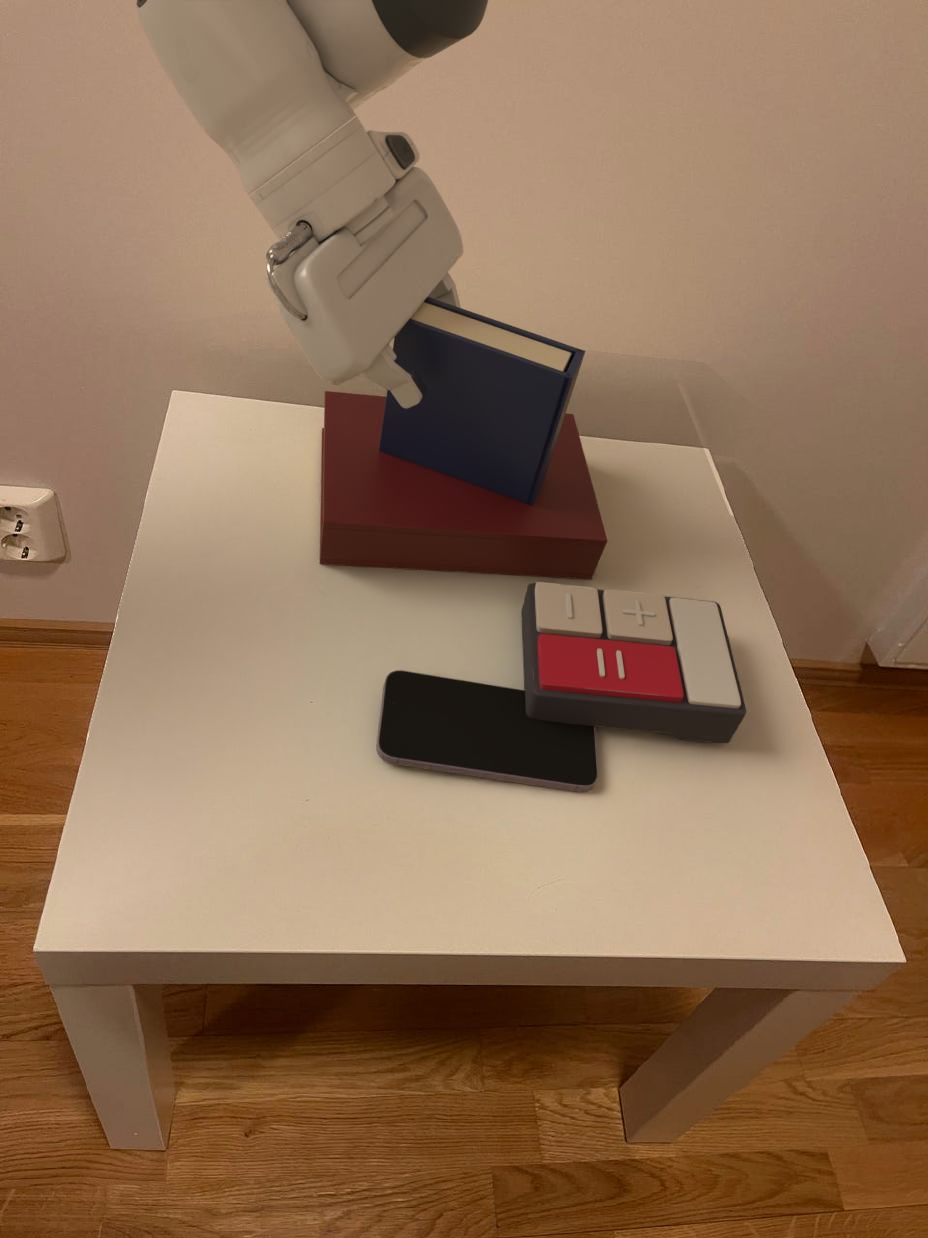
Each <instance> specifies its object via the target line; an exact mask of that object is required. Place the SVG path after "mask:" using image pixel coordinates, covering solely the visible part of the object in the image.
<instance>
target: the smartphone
mask: <svg viewBox="0 0 928 1238" xmlns="http://www.w3.org/2000/svg"><path fill="white" fill-rule="evenodd" d="M378 721H379V722H378V730H377V736H376V743H375V744H376V746H375V749H376V754H377V755H378V757H379V758H380V759H381V760H382V761H383V762H385V763H387V764H391V765H398V766H402V767H403V766H405V767H410V768H417V769H423V770H424V769H426V770H432V771H437V772H443V773H451V774H457V775H463V776H464V775H465V776H470V777H471V776H472V777H478V778H484V779H490V780H498V781H504V782H510V783H517V784H524V785H532V786H537V787H544V788H552V789H558V790H564V791H571V792H578V793H579V792H580V793H585V792H589V791H591V790H592V789H593V788H594V786H595V785H596V783H597V782H598V778H599V769H598V767H599V766H598V752H597V751H598V750H597V736H596V735H597V734H596V726H586V725H575V724H566V723H559V722H552V721H545V720H538V719H533V718H530V717H528V716H527V714H526V699H525V690H524V689H518V688H514V687H507V686H501V685H494V684H490V683H489V684H488V683H483V682H476V681H470V680H463V679H457V678H451V677H445V676H440V675H434V674H427V673H421V672H415V671H410V670H409V671H408V670H401V669H400V670H393V671H391V672H389V673H388V674H387V675H386V677H385V679H384V683H383V688H382V696H381V704H380V710H379V720H378Z"/></svg>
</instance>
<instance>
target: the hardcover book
mask: <svg viewBox="0 0 928 1238" xmlns="http://www.w3.org/2000/svg"><path fill="white" fill-rule="evenodd" d="M392 350H393V351H394V353H395V354H396V357H397V358H396V359H395V360H394V362H395V363H396V364H398V365H399V366H400V367H401V368H403V369H404V370H405V371H406V372H407V373H409V374H410V373H412V372H414V371H416V372H417V373H418V375H419V376H420V378H421V381H422V383H424V384H425V386H426V387H427V392H426V393H425V395H424V396H423V398H422V399H421V401H420V402H419V403H418V404H416V405H414V406H412V407H410V408H403V407H402V406H400V404H399V403H398V401H397V400H396V398H395V397H394V395H393V394H392V393H391V391H390V390H387V389H386V396H385V397H386V403H385V410H384V417H383V425H382V432H381V439H380V447H379V451H382V452H385V453H387V454H390V455H393V456H396V457H398V458H401V459H404V460H407V461H410V462H412V463H415V464H418V465H421V466H423V467H426V468H429V469H432V470H434V471H437V472H440V473H443V474H446V475H448V476H451V477H454V478H457V479H459V480H462V481H465V482H468V483H471V484H473V485H476V486H479V487H482V488H484V489H487V490H490V491H493V492H495V493H498V494H501V495H504V496H507V497H509V498H512V499H515V500H518V501H520V502H523V503H526V504H529V505H531V506H533V504H534V501H535V499H536V497H537V495H538V492H539V490H540V488H541V486H542V483H543V481H544V479H545V476H546V473H547V470H548V467H549V464H550V461H551V457H552V454H553V451H554V448H555V445H556V442H557V439H558V435H559V432H560V429H561V426H562V423H563V420H564V417H565V414H566V413H567V411H568V408H569V404H570V401H571V398H572V395H573V391H574V389H575V386H576V385H575V384H576V382H577V378H578V376H579V373H580V369H581V367H582V363H583V360H584V357H585V354H586V350H584V349H581V348H577V347H575V346H572V345H569V344H566V343H563V342H560V341H557V340H554V339H552V338H550V337H547V336H543V335H540V334H538V333H534V332H532V331H528V330H527V329H524V328H523V329H522V328H520V327H516V326H513V325H511V324H509V323H505V322H502V321H500V320H496V319H494V318H491V317H488V316H485V315H482V314H479V313H476V312H473V311H471V310H468V309H464V308H462V307H461V308H459V307H456V306H453V305H450V304H447V303H444V302H442V301H439V300H436V299H433V298H430V297H427V298H426V300H425V301H424V302H423V303H422V304H421V306H420V307H419V308H418V309H417V310H416V312H415V313H414V314H413V315H412V317H411V318H410V319H409V320H408V321H407V323H406V324H405V325H404V326H403V328H402V329H401V330H400V331H399V332H398V334H397V335H396V336H395V337H394V338H393V345H392Z"/></svg>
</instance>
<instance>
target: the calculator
mask: <svg viewBox="0 0 928 1238" xmlns="http://www.w3.org/2000/svg"><path fill="white" fill-rule="evenodd" d="M521 635H522V637H521V638H522V661H523V665H522V667H523V688H524V689H523V690H525V699H526V714H527V716H528V717H530V718H533V719H538V720H545V721H552V722H559V723H566V724H575V725H586V726H595V727H598V728H610V729H619V730H630V731H640V732H641V731H642V732H651V733H652V732H653V733H663V734H670V735H672V736H674V737H676V738H677V739H680V740H682V741H683V740H684V741H693V742H704V743H716V744H729V743H730V742H731V741H732V739H733V737H734V735H735V734H736V732H737V730H738V729H739V727H740V725H741V724H742V723H743V721H744V718H745V717H746V715H747V711H748V710H747V706H746V703H745V698H744V694H743V690H742V686H741V683H740V682H741V681H740V679H739V675H738V671H737V667H736V662H735V658H734V654H733V650H732V647H731V642H730V639H729V634H728V631H727V627H726V623H725V619H724V615H723V611H722V607H721V605H720V603H719V602H717V601H714V600H713V601H712V600H703V599H693V598H683V597H674V596H665V595H663V594H656V593H650V592H649V593H647V592H639V591H637V592H636V591H629V590H619V589H610V588H606V589H598V588H595V587H591V586H583V585H582V586H580V585H572V584H563V583H552V582H544V581H537V582H530V583H529V584H528V585H527V587H526V590H525V595H524V598H523V603H522V606H521Z"/></svg>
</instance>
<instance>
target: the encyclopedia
mask: <svg viewBox="0 0 928 1238" xmlns="http://www.w3.org/2000/svg"><path fill="white" fill-rule="evenodd" d="M323 398H324V399H323V400H324V404H323V427H322V428H321V446H320V447H321V454H320V513H319V514H320V515H319V517H320V518H319V520H320V522H319V523H320V524H319V525H320V526H319V529H320V530H319V564H320V565H331V566H349V567H365V568H366V567H368V568H386V569H403V570H420V571H438V572H452V573H453V572H454V573H455V572H456V573H470V574H475V573H476V574H488V575H489V574H490V575H507V576H523V577H524V576H525V577H540V578H541V577H543V578H560V579H561V578H562V579H578V580H579V579H580V580H593V577H594V574H595V572H596V570H597V567H598V565H599V562H600V561H601V558H602V555H603V553H604V551H605V548H606V546H607V544H608V535H607V532H606V530H605V525H604V522H603V518H602V514H601V512H600V511H601V510H600V507H599V504H598V500H597V496H596V492H595V488H594V485H593V481H592V477H591V474H590V471H589V466H588V463H587V462H588V461H587V459H586V456H585V452H584V448H583V444H582V441H581V436H580V433H579V429H578V426H577V425H578V424H577V423H576V418H575V415H574V413H567V412H566V414H565V417H564V420H563V423H562V426H561V429H560V432H559V435H558V439H557V442H556V445H555V448H554V451H553V454H552V457H551V461H550V464H549V467H548V470H547V473H546V476H545V479H544V481H543V483H542V486H541V488H540V490H539V492H538V495H537V497H536V499H535V501H534V504H533V506H531V505H529V504H526V503H523V502H520V501H518V500H515V499H512V498H509V497H507V496H504V495H501V494H498V493H495V492H493V491H490V490H487V489H484V488H482V487H479V486H476V485H473V484H471V483H468V482H465V481H462V480H459V479H457V478H454V477H451V476H448V475H446V474H443V473H440V472H437V471H434V470H432V469H429V468H426V467H423V466H421V465H418V464H415V463H412V462H410V461H407V460H404V459H401V458H398V457H396V456H393V455H390V454H387V453H385V452H382V451H379V447H380V439H381V432H382V425H383V417H384V410H385V403H386V396H384V395H373V394H362V393H352V392H341V391H330V390H325V391H324V397H323Z"/></svg>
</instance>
